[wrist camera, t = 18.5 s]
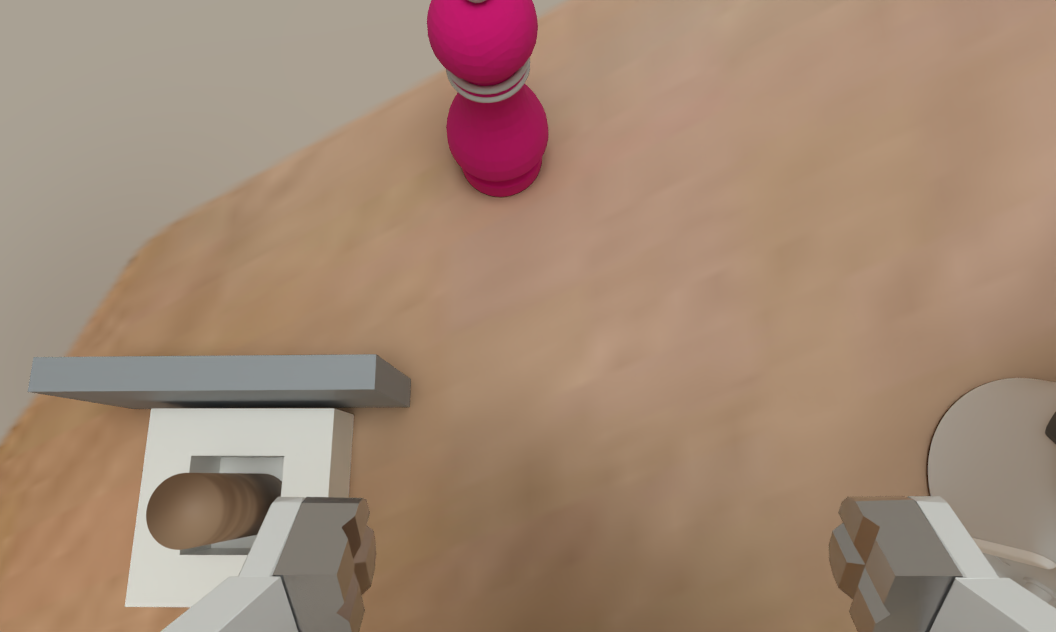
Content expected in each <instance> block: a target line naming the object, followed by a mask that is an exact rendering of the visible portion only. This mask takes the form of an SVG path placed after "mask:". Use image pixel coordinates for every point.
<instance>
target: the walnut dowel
mask: <svg viewBox="0 0 1056 632" xmlns="http://www.w3.org/2000/svg"><path fill="white" fill-rule="evenodd" d="M281 488H282V481H281V480H280V479H278V478H277V477H275V476H273V475H270V474H263V473H180V474H176V475H173V476H171V477H169V478H167V479H166V480H164V481H163V482H162V483H161V484H160V485H159V486H158V487H157V488H156V489H155V491H154V492H153V493H152V495H151V497H150V499H149V502H148V505H147V510H146V521H147V526H148V529H149V532H150V533H151V535H152V537H153V538H154V539H155V540H156V541H157V542H158V543H159V544H161V545H162V546H164V547H166V548H169V549H174V550H183V549H189V548H194V547H199V546H204V545H209V544H214V543H218V542H223V541H228V540H233V539H238V538H243V537H248V536H253V535H257V534H258V531H259V529H260V527H261V525H262V523H263V521H264V518H265V516H266V514H267V512H268V510H269V507H270V505H271V504H272V503H273V502H274V501H275V499H276V498H277V497H281Z"/></svg>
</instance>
